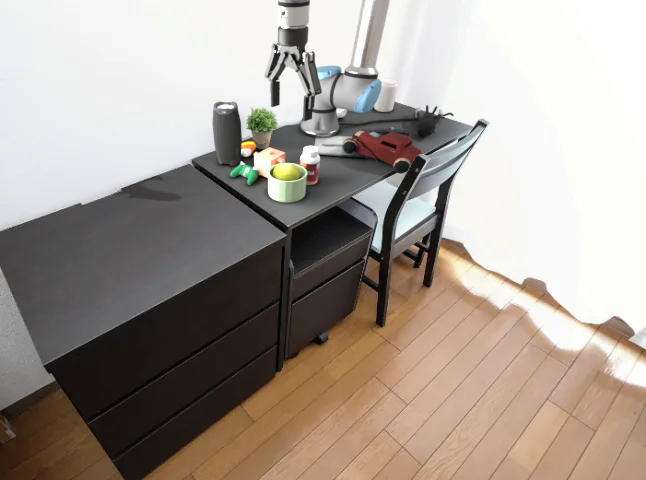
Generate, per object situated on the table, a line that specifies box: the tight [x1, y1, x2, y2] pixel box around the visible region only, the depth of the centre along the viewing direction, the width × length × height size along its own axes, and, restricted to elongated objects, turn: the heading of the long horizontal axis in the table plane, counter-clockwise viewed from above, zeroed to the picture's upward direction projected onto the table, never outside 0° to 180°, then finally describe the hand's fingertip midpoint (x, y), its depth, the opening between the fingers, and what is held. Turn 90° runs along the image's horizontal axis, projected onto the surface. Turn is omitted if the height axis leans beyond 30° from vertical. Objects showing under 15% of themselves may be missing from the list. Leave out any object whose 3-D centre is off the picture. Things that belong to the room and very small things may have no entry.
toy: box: [414, 104, 444, 137], centre depth 152 cm, size 11×6×30 cm
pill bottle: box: [299, 145, 321, 186], centre depth 119 cm, size 6×6×11 cm
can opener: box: [360, 126, 410, 137], centre depth 142 cm, size 18×7×6 cm, turn 71°
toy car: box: [342, 129, 423, 175], centre depth 129 cm, size 15×28×10 cm, turn 47°
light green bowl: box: [267, 162, 307, 203], centre depth 115 cm, size 12×12×7 cm
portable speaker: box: [211, 101, 243, 167], centre depth 127 cm, size 9×9×20 cm
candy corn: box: [241, 140, 257, 158], centre depth 137 cm, size 6×3×8 cm
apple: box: [272, 164, 300, 181], centre depth 115 cm, size 8×9×8 cm
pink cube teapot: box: [253, 147, 286, 179], centre depth 124 cm, size 8×12×8 cm, turn 51°
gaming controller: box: [229, 161, 259, 186], centre depth 124 cm, size 9×4×6 cm
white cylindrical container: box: [373, 78, 399, 113], centre depth 164 cm, size 8×8×12 cm
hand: (290, 112), depth 107 cm, fingers open, 13 cm apart
